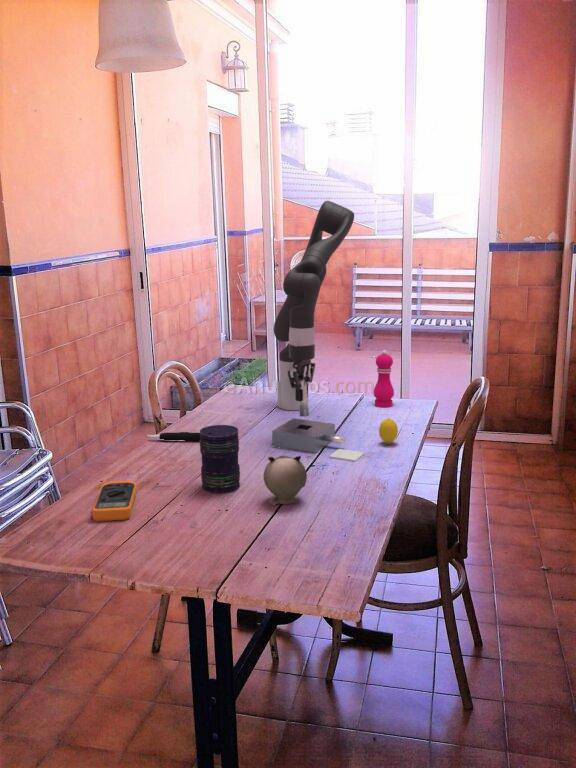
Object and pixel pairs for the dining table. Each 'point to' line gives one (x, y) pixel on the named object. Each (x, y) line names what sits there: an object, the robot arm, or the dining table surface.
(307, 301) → the robot arm
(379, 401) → the pepper mill
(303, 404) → the chuck key
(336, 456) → the mat
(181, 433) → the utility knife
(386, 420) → the lemon
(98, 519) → the multimeter
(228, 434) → the camera lens
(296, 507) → the dining table surface
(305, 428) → the block
